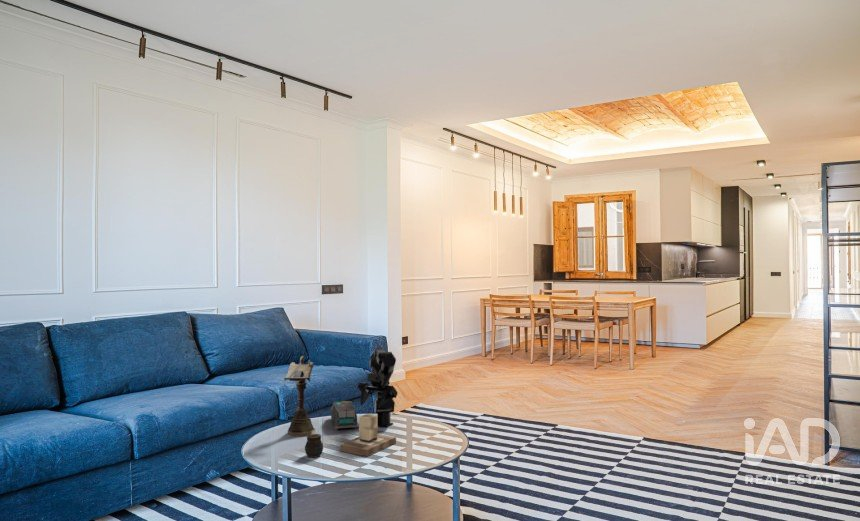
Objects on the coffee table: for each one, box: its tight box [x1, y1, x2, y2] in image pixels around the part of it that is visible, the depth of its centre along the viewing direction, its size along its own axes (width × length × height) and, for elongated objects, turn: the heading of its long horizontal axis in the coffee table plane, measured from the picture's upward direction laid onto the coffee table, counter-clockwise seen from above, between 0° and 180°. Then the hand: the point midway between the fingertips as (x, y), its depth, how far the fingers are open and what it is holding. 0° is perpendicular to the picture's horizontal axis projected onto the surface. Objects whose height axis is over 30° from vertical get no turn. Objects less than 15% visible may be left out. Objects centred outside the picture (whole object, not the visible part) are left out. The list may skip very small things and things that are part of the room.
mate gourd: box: [304, 430, 324, 458], centre depth 233 cm, size 7×8×10 cm
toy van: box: [330, 400, 359, 431], centre depth 280 cm, size 11×25×10 cm, turn 15°
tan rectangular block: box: [358, 413, 379, 442], centre depth 244 cm, size 6×5×10 cm
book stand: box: [282, 355, 316, 437], centre depth 263 cm, size 17×13×35 cm
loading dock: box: [339, 433, 397, 457], centre depth 244 cm, size 20×14×3 cm
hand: (369, 405), depth 258 cm, fingers open, 9 cm apart
